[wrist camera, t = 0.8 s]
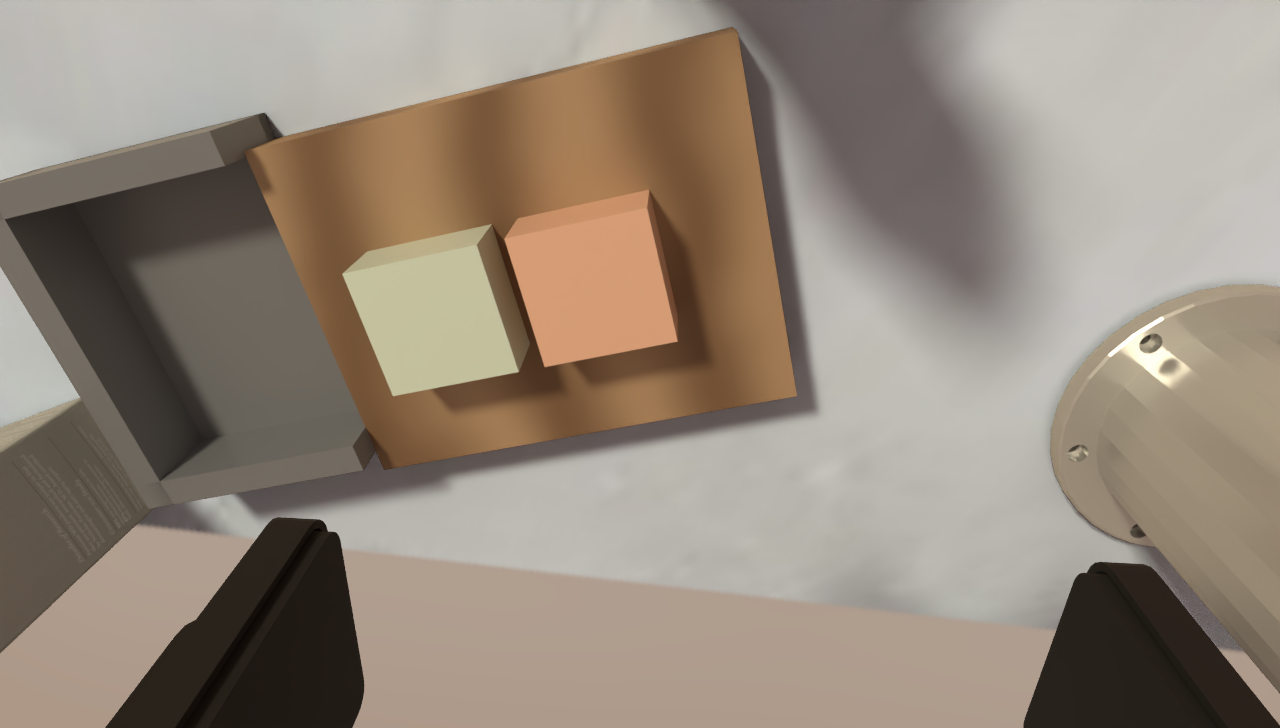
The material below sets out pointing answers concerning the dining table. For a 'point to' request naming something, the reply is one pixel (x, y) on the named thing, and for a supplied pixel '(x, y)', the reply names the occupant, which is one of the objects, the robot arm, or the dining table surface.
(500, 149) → the walnut plate
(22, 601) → the skincare box
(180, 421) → the box
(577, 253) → the tile
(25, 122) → the dining table surface
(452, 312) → the tile
